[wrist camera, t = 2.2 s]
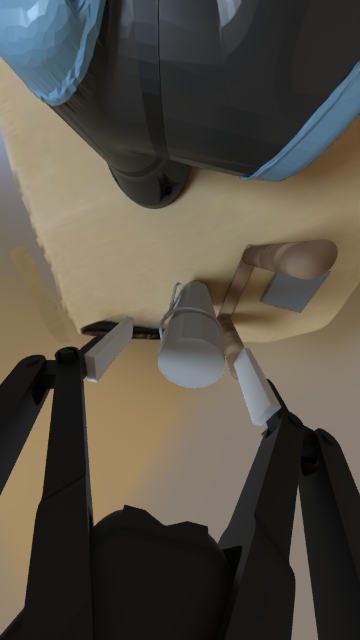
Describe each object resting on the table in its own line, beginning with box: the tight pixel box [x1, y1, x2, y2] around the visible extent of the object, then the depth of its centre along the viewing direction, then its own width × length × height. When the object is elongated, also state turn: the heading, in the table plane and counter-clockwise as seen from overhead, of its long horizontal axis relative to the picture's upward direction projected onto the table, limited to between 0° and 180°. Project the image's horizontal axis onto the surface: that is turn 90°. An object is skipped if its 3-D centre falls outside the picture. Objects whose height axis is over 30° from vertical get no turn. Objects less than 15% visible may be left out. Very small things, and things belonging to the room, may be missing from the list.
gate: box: [217, 240, 337, 380], centre depth 25 cm, size 20×4×19 cm, turn 167°
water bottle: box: [158, 281, 225, 388], centre depth 24 cm, size 9×8×25 cm
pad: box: [260, 271, 331, 313], centre depth 31 cm, size 10×10×1 cm
